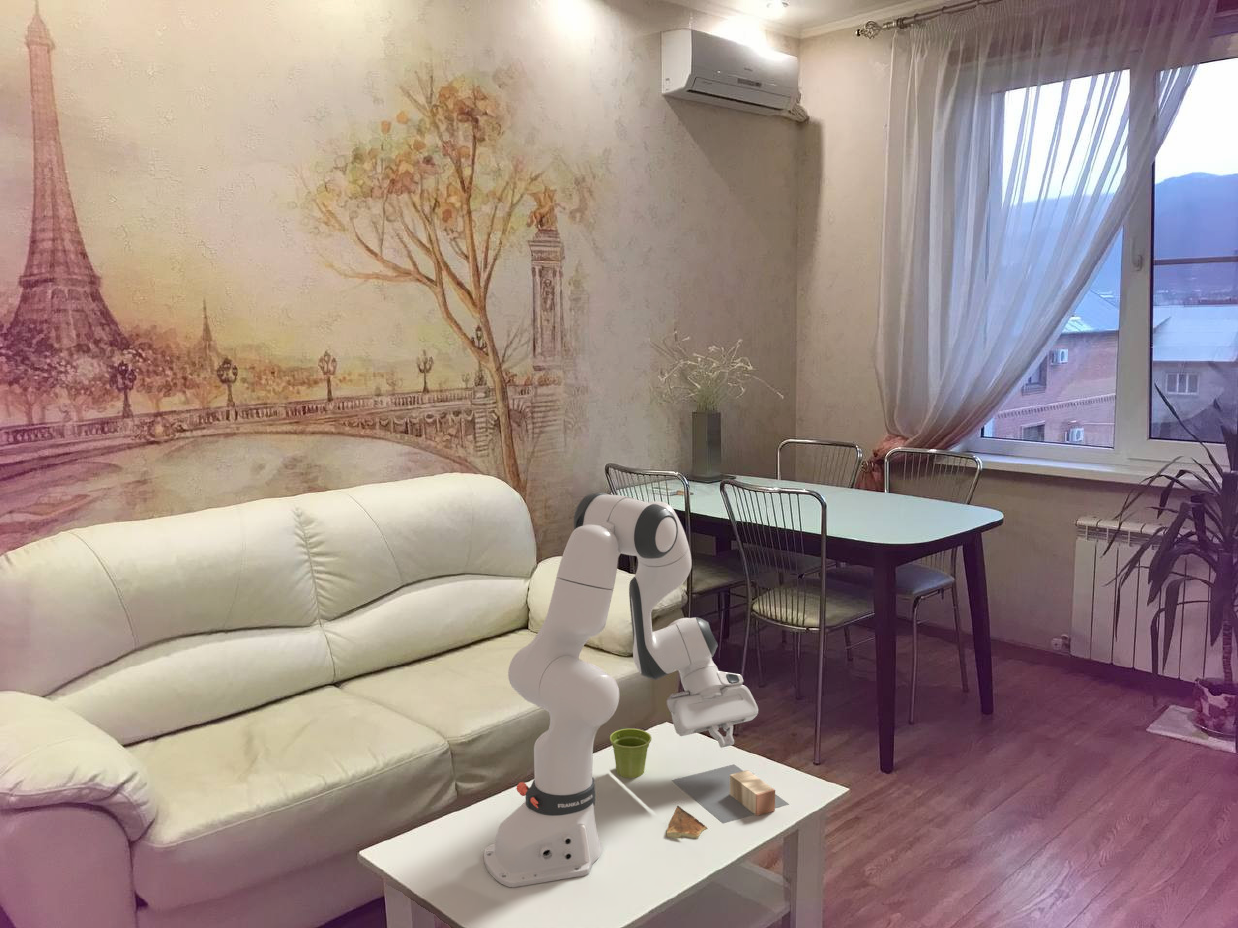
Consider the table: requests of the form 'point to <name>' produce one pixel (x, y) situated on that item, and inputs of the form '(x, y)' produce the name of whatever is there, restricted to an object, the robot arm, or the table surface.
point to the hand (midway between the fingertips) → (727, 745)
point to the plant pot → (630, 751)
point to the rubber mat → (718, 793)
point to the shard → (684, 825)
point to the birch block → (752, 792)
